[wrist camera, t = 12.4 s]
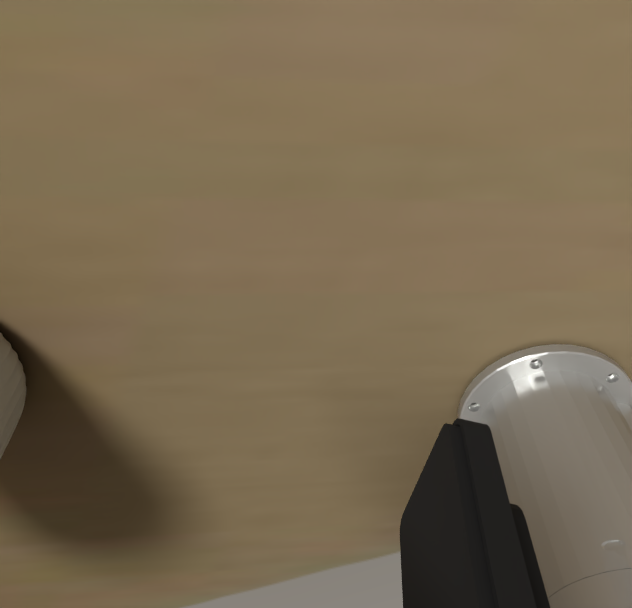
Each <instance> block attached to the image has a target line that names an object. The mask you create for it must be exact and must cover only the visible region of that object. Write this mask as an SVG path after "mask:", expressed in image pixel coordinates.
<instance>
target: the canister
mask: <svg viewBox="0 0 632 608" xmlns="http://www.w3.org/2000/svg"><path fill="white" fill-rule="evenodd" d="M25 398H26V377H25V374H24V372H23V365H22V363H21V362H20V361H19V359H18V355H17V353H16V352H15V351H14V350H13V349H12V347H11V344H10V343H9V342H8V341H7V340H6V339H5V338H4V337H3V335H2V333H0V459H1V457H2V455H3V453H4V451H5V449H6V447H7V445H8V443H9V441H10V439H11V437H12V435H13V432H14V430H15V428H16V426H17V424H18V421H19V419H20V417H21V414H22V412H23V409H24V404H25Z"/></svg>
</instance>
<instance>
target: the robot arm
mask: <svg viewBox="0 0 632 608" xmlns="http://www.w3.org/2000/svg"><path fill="white" fill-rule="evenodd" d="M400 547H401V569H402V590H403V608H632V382H631V380H630V378H629V377H628V375H627V374H626V372H625V371H624V370H623V369H622V368H621V367H620V366H619V365H618V364H617V363H616V361H614V360H613V359H611V358H609V357H608V356H606V355H605V354H603V353H601V352H598V351H595V350H592V349H590V348H586V347H581V346H575V345H563V344H551V345H543V346H535V347H531V348H528V349H524V350H520V351H517V352H515V353H512V354H510V355H508V356H505V357H503V358H501V359H499V360H498V361H496V362H494V363H493V364H491V365H489V366H488V367H486V368H485V369H484V370H483V371H482V372H481V373H480V374H478V375H477V376H476V377H475V378H474V379H473V381H472V382H471V383H470V384H469V386H468V387H467V388H466V390H465V392H464V394H463V396H462V398H461V400H460V404H459V409H458V419H456V420H455V421H454V423H453V425H451V424H444V425H443V427H442V429H441V431H440V433H439V436H438V438H437V440H436V442H435V444H434V447H433V449H432V451H431V453H430V455H429V458H428V460H427V462H426V464H425V466H424V469H423V471H422V473H421V475H420V478H419V480H418V482H417V484H416V486H415V489H414V491H413V493H412V495H411V497H410V500H409V502H408V504H407V506H406V508H405V511H404V513H403V516H402V519H401V525H400Z"/></svg>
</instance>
